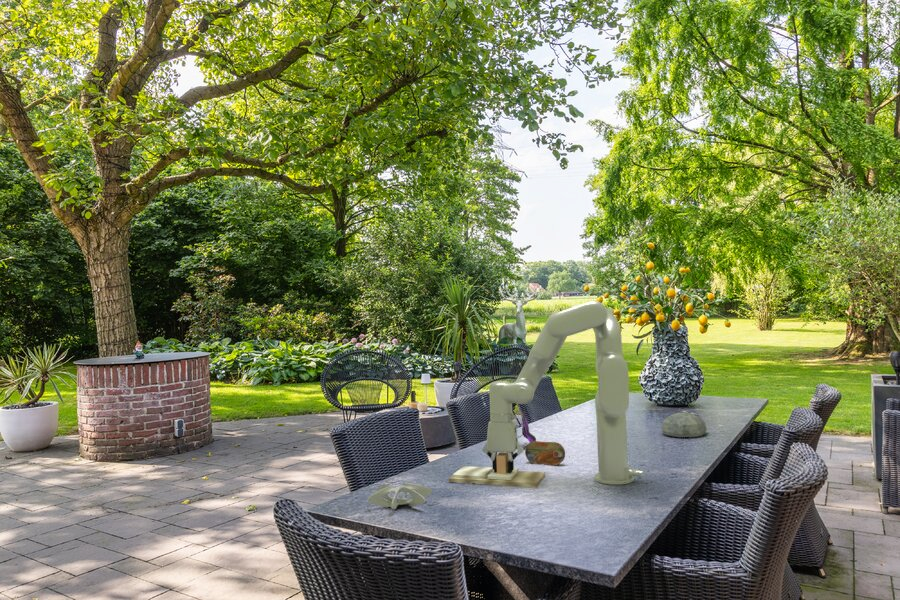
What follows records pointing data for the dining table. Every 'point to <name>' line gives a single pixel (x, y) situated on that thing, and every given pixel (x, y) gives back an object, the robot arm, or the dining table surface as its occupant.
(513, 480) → the ticket pad
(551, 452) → the tin
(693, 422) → the decorative stone
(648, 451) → the dining table surface
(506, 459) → the stub
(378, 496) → the sculpture
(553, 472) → the dining table surface
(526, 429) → the flower
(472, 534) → the dining table surface
